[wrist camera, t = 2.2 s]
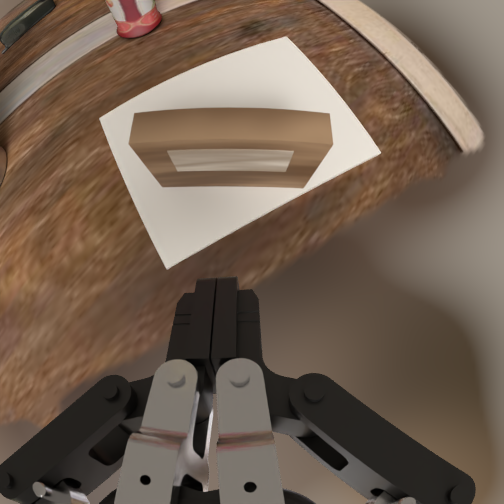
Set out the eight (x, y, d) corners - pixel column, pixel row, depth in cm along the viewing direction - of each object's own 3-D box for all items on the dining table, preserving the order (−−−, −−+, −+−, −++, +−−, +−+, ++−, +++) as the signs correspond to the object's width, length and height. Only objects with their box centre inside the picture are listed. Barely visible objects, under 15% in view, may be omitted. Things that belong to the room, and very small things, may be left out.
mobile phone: (46, -9, 27) (-10, 39, 25) (51, -8, 27) (-7, 42, 25) (54, 5, 32) (1, 52, 30) (58, 7, 32) (3, 55, 30)
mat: (101, 120, 29) (99, 118, 28) (285, 39, 31) (286, 36, 31) (167, 268, 28) (166, 268, 27) (378, 154, 30) (380, 152, 29)
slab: (303, 189, 28) (333, 145, 18) (162, 188, 28) (128, 145, 18) (302, 164, 29) (329, 113, 19) (164, 163, 28) (134, 113, 18)
